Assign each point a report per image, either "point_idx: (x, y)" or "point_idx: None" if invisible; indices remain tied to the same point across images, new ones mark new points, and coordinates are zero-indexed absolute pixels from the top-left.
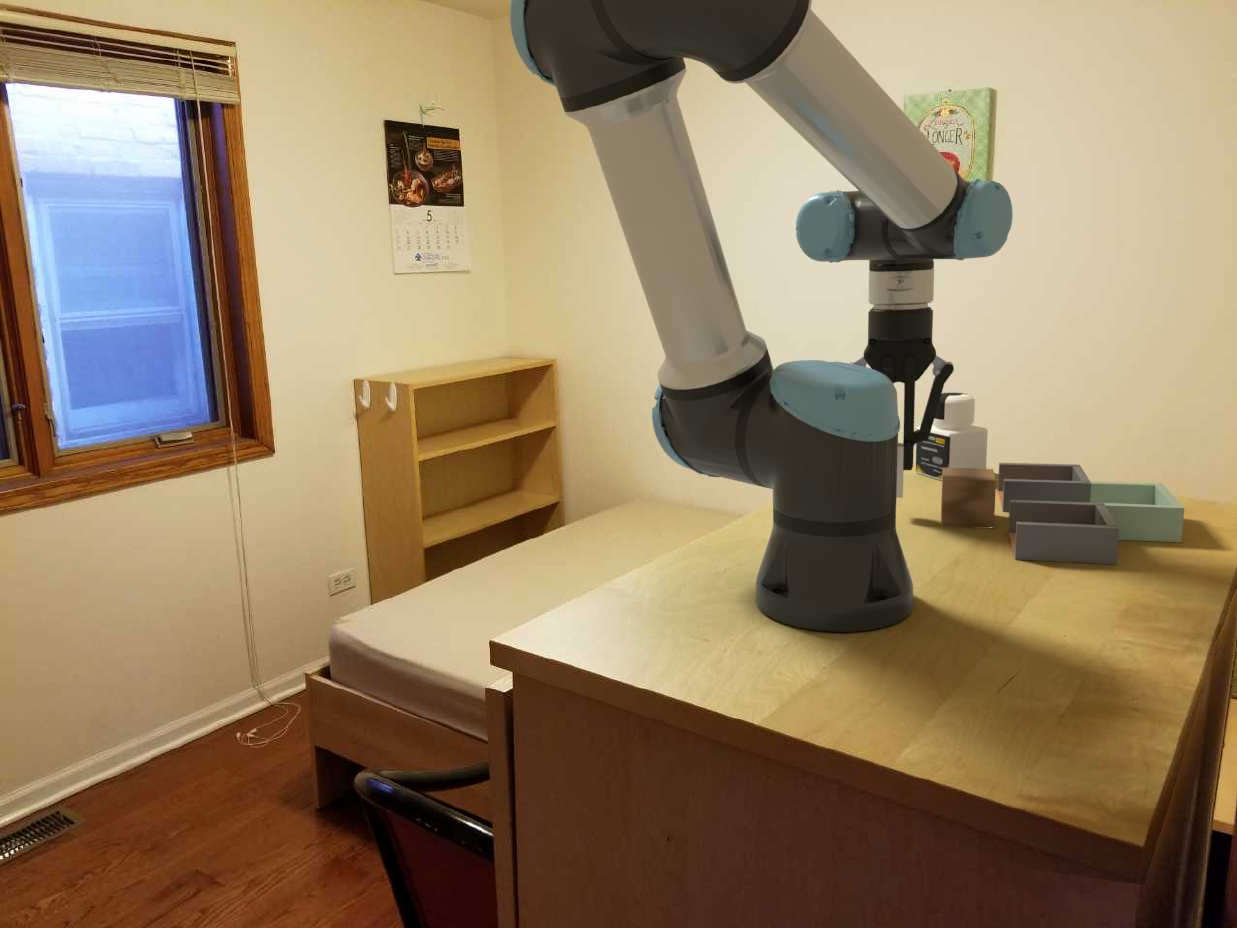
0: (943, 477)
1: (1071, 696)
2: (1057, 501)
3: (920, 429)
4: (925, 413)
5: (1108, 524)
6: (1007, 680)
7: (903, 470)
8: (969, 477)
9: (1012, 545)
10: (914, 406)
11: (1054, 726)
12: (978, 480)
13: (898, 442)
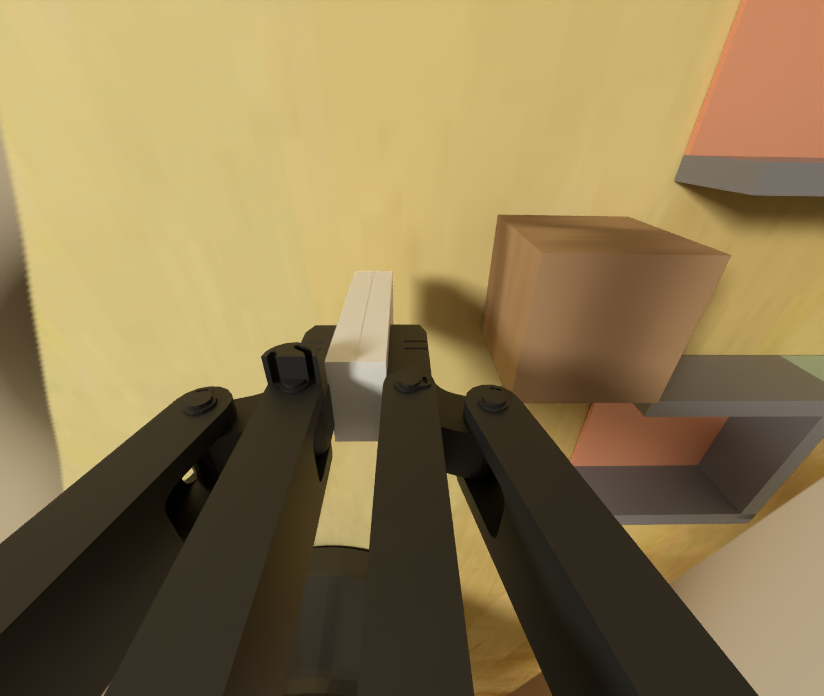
0: (515, 385)
1: (512, 651)
2: (757, 402)
3: (469, 503)
4: (515, 606)
5: (745, 511)
6: (476, 645)
7: (390, 302)
8: (594, 379)
9: (583, 434)
10: (457, 563)
11: (491, 667)
12: (609, 402)
13: (358, 370)
